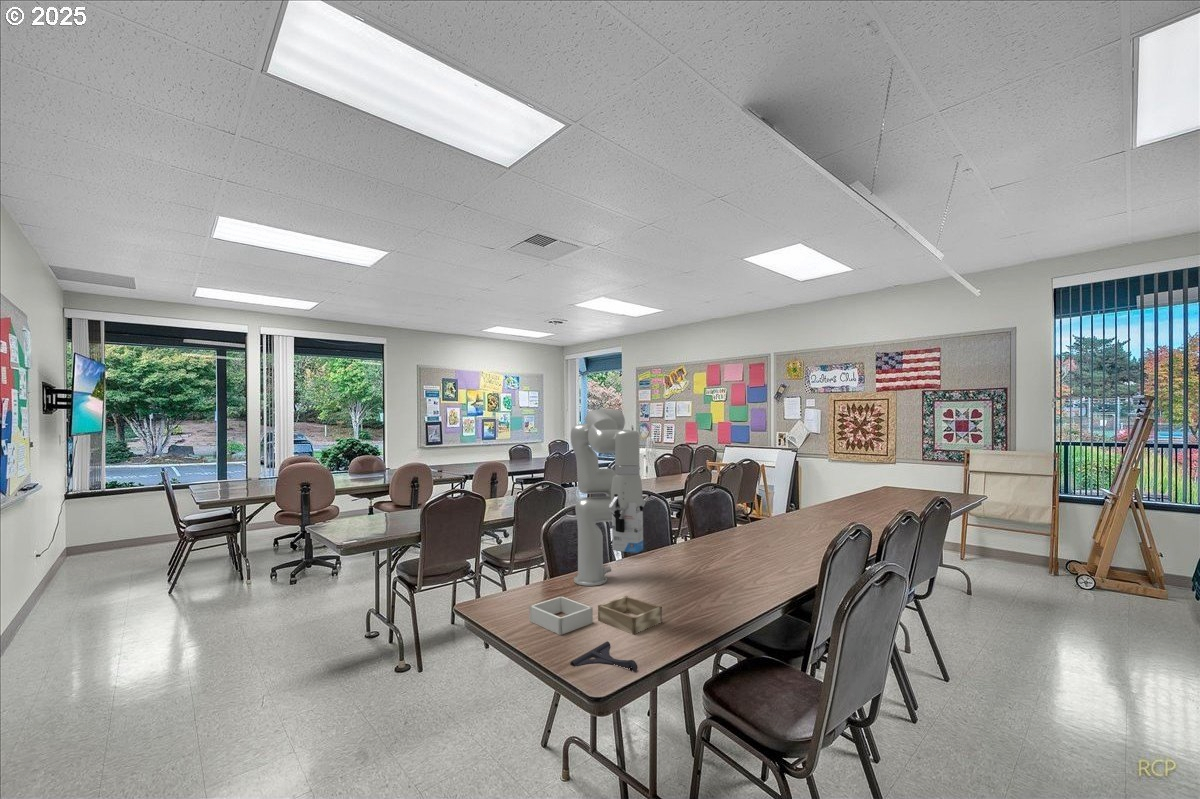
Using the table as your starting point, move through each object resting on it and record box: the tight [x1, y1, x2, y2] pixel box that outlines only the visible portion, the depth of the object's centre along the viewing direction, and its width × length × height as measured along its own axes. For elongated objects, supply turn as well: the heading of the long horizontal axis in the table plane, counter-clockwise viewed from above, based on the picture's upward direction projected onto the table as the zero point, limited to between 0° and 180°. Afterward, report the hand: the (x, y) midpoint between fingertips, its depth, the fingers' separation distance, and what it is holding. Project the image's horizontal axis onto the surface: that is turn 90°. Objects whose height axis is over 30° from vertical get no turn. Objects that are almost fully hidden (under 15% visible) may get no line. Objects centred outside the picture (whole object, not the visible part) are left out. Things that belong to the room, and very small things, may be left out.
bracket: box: [569, 641, 638, 672], centre depth 127 cm, size 14×15×3 cm
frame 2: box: [597, 595, 663, 635], centre depth 153 cm, size 13×15×4 cm
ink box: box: [611, 503, 644, 554], centre depth 155 cm, size 8×5×15 cm, turn 61°
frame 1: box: [528, 595, 594, 636], centre depth 153 cm, size 13×15×4 cm
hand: (627, 529), depth 155 cm, fingers closed on ink box, 6 cm apart
